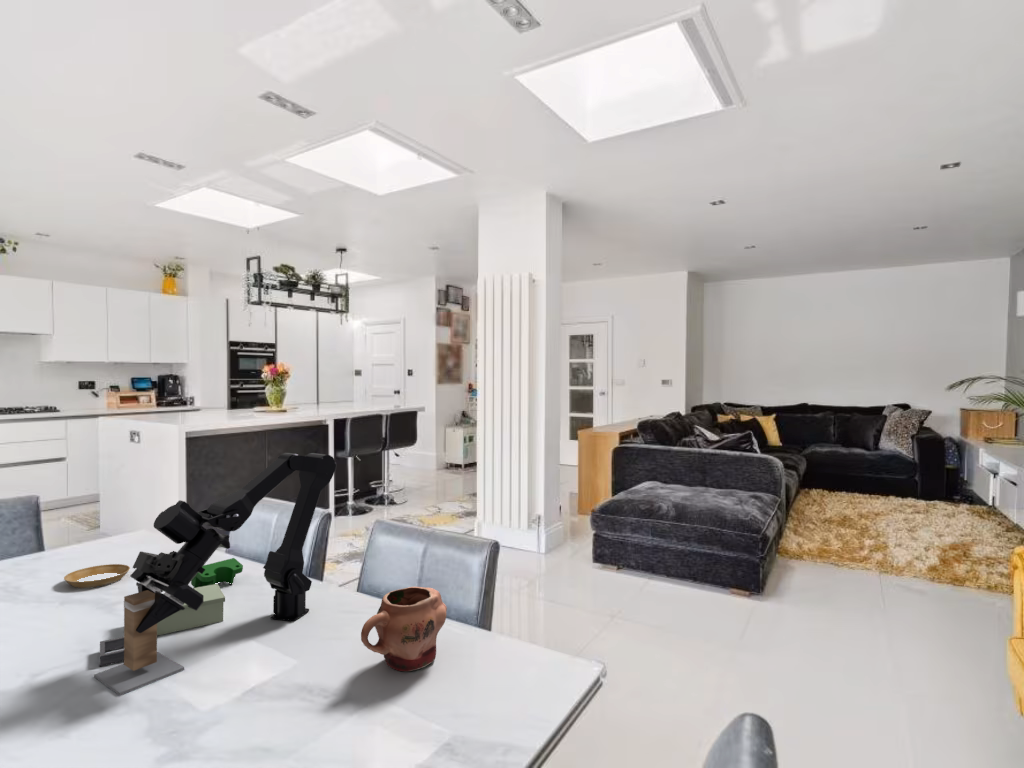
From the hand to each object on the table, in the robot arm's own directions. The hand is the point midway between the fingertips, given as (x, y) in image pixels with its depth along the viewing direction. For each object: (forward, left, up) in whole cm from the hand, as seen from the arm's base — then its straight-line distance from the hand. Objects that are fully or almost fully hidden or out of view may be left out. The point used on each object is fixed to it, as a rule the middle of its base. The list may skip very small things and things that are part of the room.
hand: (132, 629), depth 106 cm
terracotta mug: (-48, -17, -9) cm, 52 cm away
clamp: (+19, -44, -9) cm, 49 cm away
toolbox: (+10, -22, -9) cm, 26 cm away
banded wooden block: (-1, -1, -7) cm, 7 cm away
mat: (-1, -1, -9) cm, 9 cm away
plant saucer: (+53, -39, -9) cm, 66 cm away
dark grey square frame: (+9, -7, -9) cm, 15 cm away
